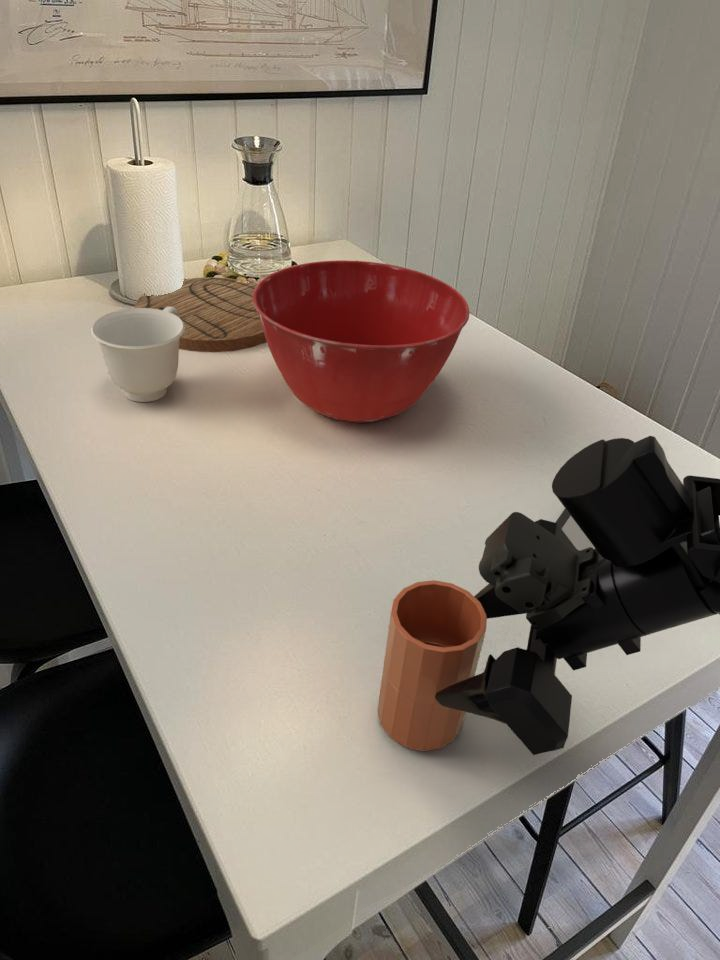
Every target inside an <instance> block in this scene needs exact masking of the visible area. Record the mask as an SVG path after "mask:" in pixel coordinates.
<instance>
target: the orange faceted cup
mask: <svg viewBox="0 0 720 960" xmlns="http://www.w3.org/2000/svg"><path fill="white" fill-rule="evenodd" d="M474 596H475V595H473V594H472V593H471V592H470V591H468V590H467V589H465V588H462V587H461V586H459V585H456V584H454V583H452V582H446V581H441V580H436V579H432V580H424V581H423V580H422V581H416V582H414V583H412V584H410V585H408V586H406V587H403V588H402V589H401V590H400V591H399V593H398V594H397V595H396V596H395V597H394V598H393V600H392V606H391V610H390V617H389V623H388V631H387V639H386V646H385V652H384V660H383V668H382V676H381V682H380V683H381V684H380V690H379V696H378V697H379V698H378V704H377V716H378V719H379V723H380V726H381V728H382V729H383V730H384V731H385V732H386V733H387V735H388V736H389V737H390V739H391V740H392V741H395V742H396V743H397V744H400V745H401V746H403V747H405V748H406V749H411V750H417V751H421V752H427V751H433V750H438V749H442V748H444V747H446V746H448V745H449V744H450V743H452V742H453V741H455V739H456V738H457V736H458V734H459V733H460V732H461V730H462V727H463V723H464V720H465V716H466V712H464V711H460V710H456V709H452V708H448V707H444V706H442V705H441V704H440V703H439V702H438V701H437V700H436V699H435V694H436V693H437V692H439V691H441V690H442V689H444V688H446V687H448V686H451V685H453V684H456V683H458V682H461V681H463V680H466V679H468V678H471V677H473V676H476V672H477V668H478V665H479V659H480V656H481V651H482V649H483V648H482V647H483V645H484V644H483V643H484V641H485V640H484V639H485V636H486V632H487V621H488V619H487V615H486V613H485V611H484V609H483V607H482V605H481V603H480V602H479V601H478V600H477V599H476V598H475V597H474Z"/></svg>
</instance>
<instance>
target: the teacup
mask: <svg viewBox="0 0 720 960" xmlns="http://www.w3.org/2000/svg"><path fill="white" fill-rule="evenodd" d="M184 330H185V325H184V323H183V321H182V320H181V319H180V317H179V313H178V311H177V309H175V308H174V307H166V308H165V309H164V310H158V309H151V308H135V307H134V308H124V309H119V310H116V311H112V312H109V313H106V314H104V315H102V316H101V317H99V318H98V319H97V320H95V322H93V324H92V326H91V328H90V333H91V336H92V338H94V340H96V341H97V342H98V345H99V347H100V350H101V353H102V357H103V360H104V364H105V367H106V370H107V374H108V376H109V378H110V380H111V382H112V383H113V384H114V385H115V386H116V387H117V388H119V389H120V390H122V391H123V392H124V395H125V397H126V398H127V399H129V400H131V401H134V402H139V403H150V402H154V401H157V400H160V399H162V398H163V397H165V395H166V394H167V391H168V390H167V388H168V387H169V386H171V385H172V383H173V382H174V381H175V379H176V376H177V373H178V367H179V356H180V355H179V352H180V349H179V341H180V336H181V335H182V334H183V332H184Z"/></svg>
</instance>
